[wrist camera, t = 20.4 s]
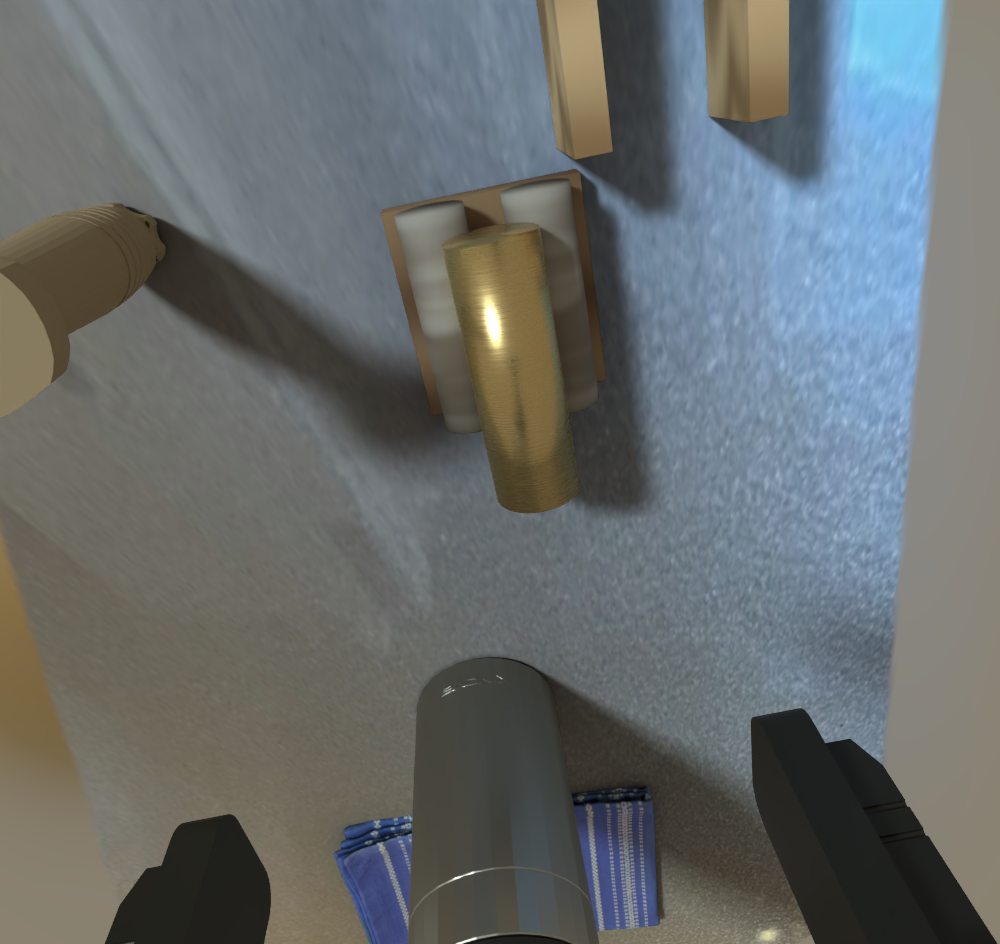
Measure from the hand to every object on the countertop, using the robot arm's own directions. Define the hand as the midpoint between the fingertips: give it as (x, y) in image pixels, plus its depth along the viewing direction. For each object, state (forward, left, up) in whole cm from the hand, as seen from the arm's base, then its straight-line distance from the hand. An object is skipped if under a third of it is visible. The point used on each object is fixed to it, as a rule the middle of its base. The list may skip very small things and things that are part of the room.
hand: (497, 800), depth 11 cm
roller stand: (0, -2, -28) cm, 28 cm away
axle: (-2, -2, -23) cm, 23 cm away
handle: (+6, +14, -28) cm, 32 cm away
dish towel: (-45, +6, -29) cm, 54 cm away
